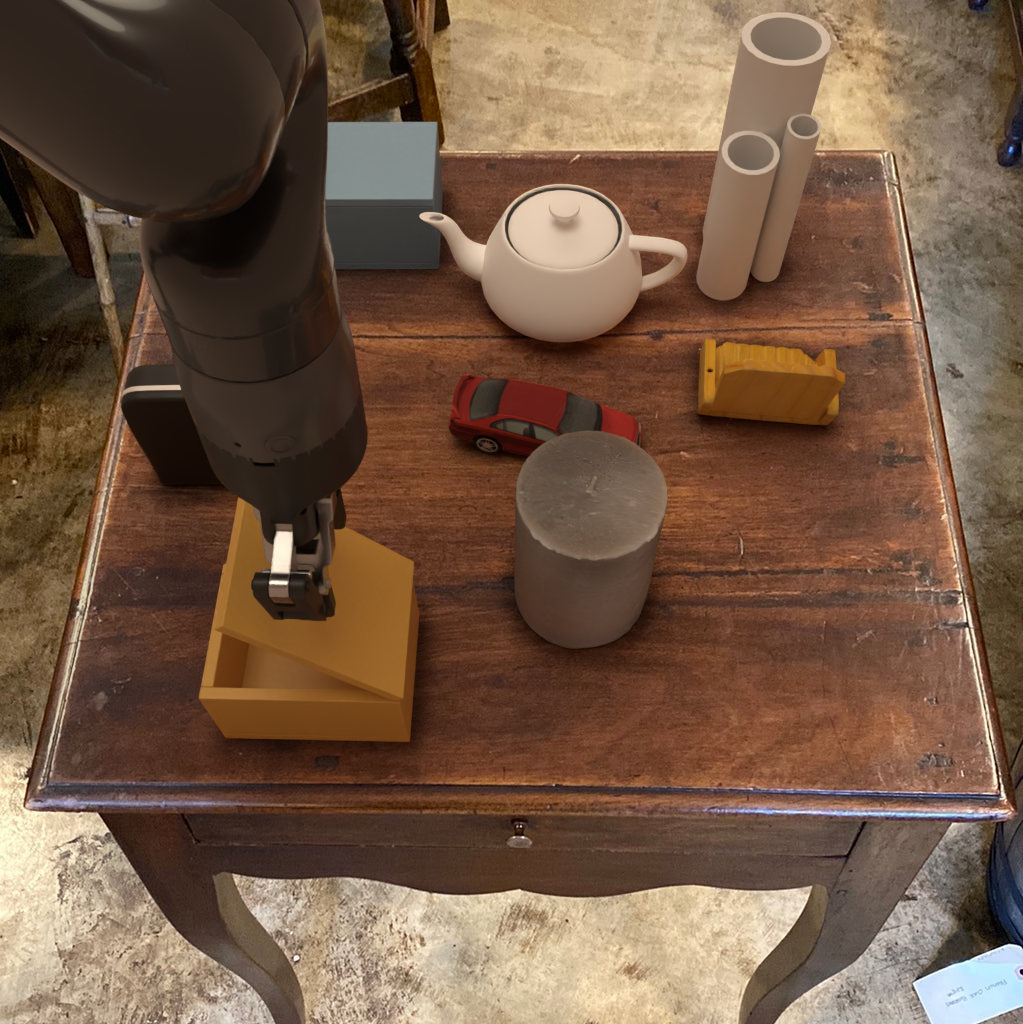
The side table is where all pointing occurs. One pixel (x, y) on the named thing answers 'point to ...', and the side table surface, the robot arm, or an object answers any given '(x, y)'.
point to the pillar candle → (586, 536)
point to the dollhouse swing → (768, 383)
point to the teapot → (560, 263)
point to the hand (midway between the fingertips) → (322, 566)
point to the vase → (762, 152)
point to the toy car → (528, 415)
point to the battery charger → (165, 426)
